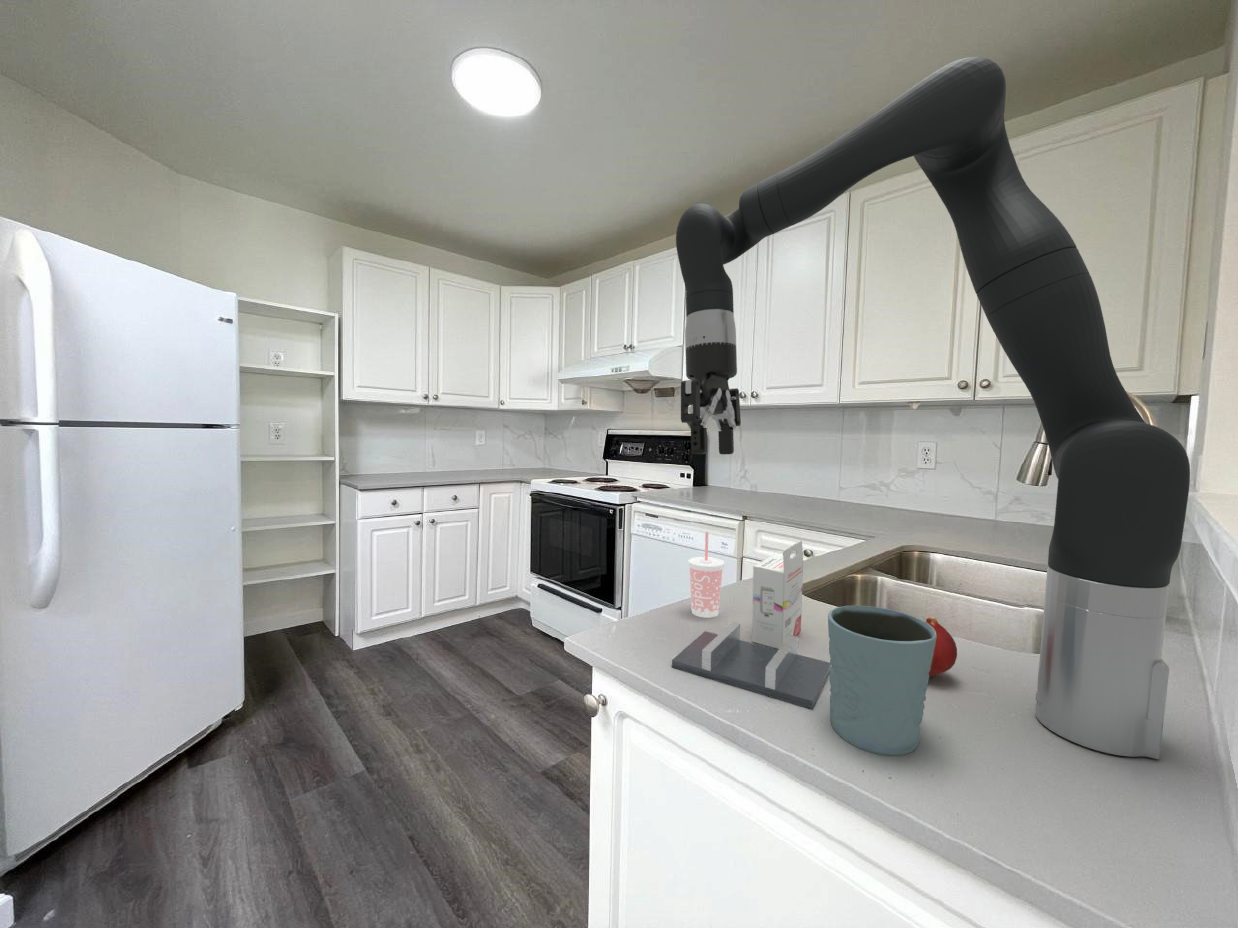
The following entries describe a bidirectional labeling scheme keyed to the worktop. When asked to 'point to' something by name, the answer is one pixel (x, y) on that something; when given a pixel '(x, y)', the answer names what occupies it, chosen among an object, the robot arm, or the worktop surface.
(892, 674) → the teal ceramic vase
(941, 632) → the onion
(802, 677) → the rail channel
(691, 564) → the beverage cup
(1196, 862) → the worktop surface
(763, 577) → the ink cartridge box
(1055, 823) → the worktop surface
